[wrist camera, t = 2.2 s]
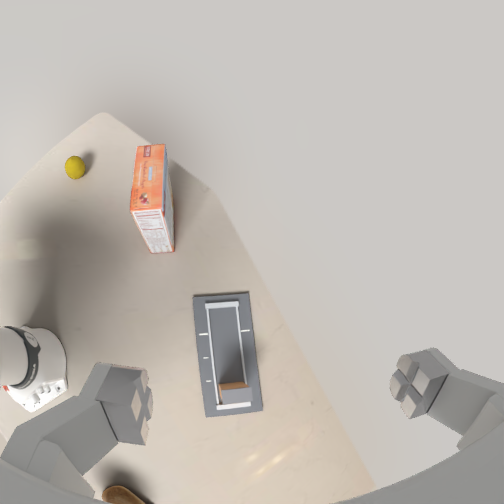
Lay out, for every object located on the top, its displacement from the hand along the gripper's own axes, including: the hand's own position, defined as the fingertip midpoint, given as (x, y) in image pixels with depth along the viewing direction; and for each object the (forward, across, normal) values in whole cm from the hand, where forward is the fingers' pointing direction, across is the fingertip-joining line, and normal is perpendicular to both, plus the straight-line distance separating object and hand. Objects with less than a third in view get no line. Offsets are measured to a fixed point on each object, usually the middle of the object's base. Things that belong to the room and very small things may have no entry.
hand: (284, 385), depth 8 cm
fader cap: (+38, 0, -36) cm, 52 cm away
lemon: (+65, -42, +6) cm, 78 cm away
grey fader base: (+42, 0, -30) cm, 51 cm away
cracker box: (+58, -16, -6) cm, 61 cm away
